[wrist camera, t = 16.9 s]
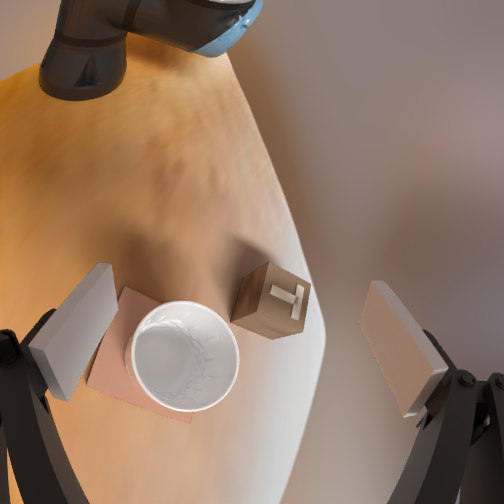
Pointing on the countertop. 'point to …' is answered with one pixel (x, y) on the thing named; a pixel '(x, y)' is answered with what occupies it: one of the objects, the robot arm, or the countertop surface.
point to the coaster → (113, 357)
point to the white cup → (183, 356)
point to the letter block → (272, 302)
